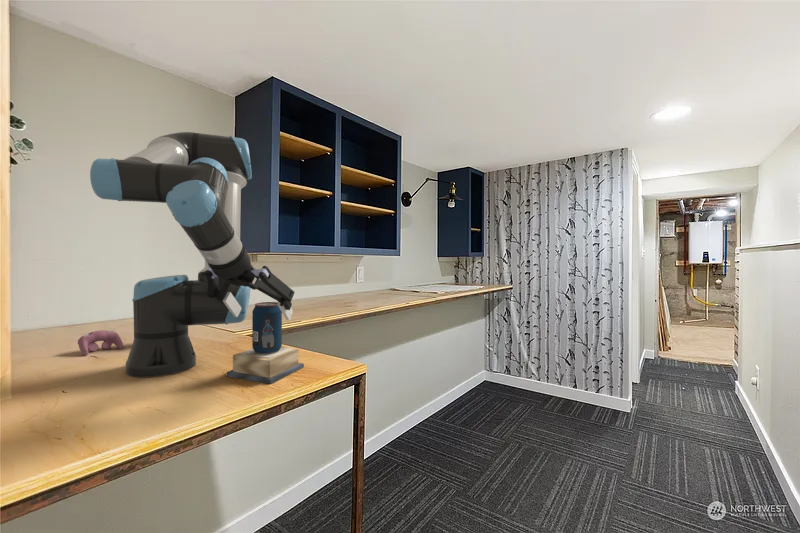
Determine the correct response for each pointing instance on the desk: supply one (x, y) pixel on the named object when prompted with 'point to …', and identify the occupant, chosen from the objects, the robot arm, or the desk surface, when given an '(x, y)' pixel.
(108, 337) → the video game controller
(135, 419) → the desk surface
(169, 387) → the desk surface
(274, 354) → the beige square box
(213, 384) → the desk surface
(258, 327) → the soda can
